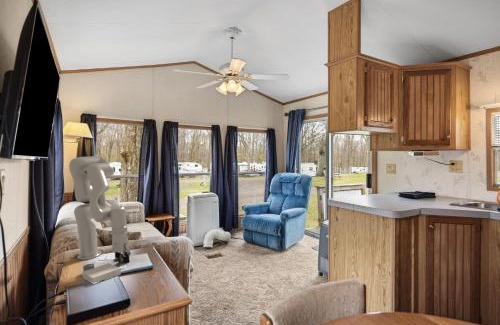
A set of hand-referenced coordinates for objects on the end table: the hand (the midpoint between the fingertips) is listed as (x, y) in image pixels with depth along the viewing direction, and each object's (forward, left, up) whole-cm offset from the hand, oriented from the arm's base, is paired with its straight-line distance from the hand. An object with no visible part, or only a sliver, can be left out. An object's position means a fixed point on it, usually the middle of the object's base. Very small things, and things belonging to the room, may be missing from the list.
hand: (122, 261), depth 160 cm
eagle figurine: (-1, +1, -2) cm, 3 cm away
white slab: (+5, -13, -2) cm, 14 cm away
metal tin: (-5, -15, -2) cm, 16 cm away
